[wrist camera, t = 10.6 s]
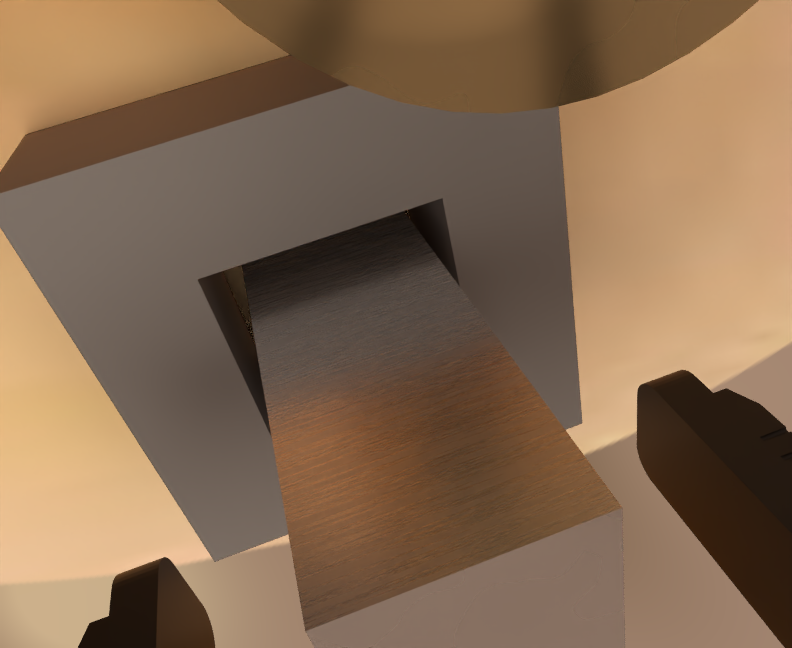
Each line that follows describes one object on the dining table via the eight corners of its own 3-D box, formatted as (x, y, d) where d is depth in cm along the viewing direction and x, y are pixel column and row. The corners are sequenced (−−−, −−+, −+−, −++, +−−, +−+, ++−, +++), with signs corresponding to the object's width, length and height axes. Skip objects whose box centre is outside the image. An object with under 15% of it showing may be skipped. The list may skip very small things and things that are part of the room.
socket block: (25, 135, 15) (-18, 198, 12) (475, -1, 16) (552, 23, 13) (209, 461, 21) (214, 561, 18) (523, 347, 22) (582, 423, 19)
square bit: (234, 221, 17) (305, 630, 8) (377, 175, 18) (622, 507, 8) (281, 340, 20) (382, 772, 10) (407, 297, 20) (625, 670, 10)
